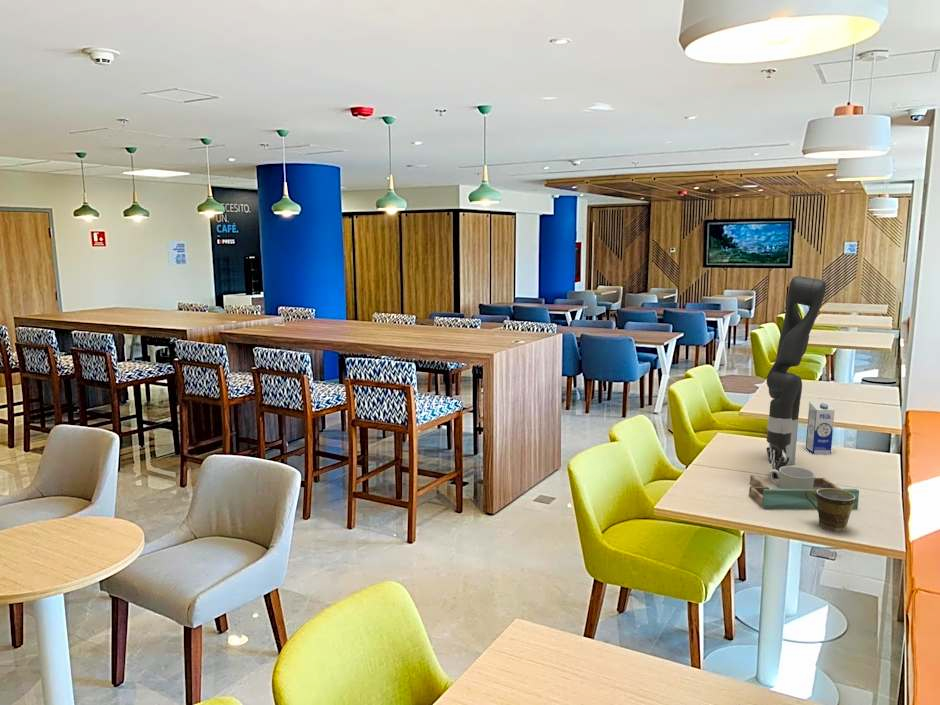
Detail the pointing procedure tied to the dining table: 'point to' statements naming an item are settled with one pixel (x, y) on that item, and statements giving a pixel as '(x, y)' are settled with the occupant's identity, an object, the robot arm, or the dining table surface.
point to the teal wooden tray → (791, 495)
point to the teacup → (793, 477)
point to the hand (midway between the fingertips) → (775, 478)
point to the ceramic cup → (833, 507)
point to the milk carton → (820, 428)
